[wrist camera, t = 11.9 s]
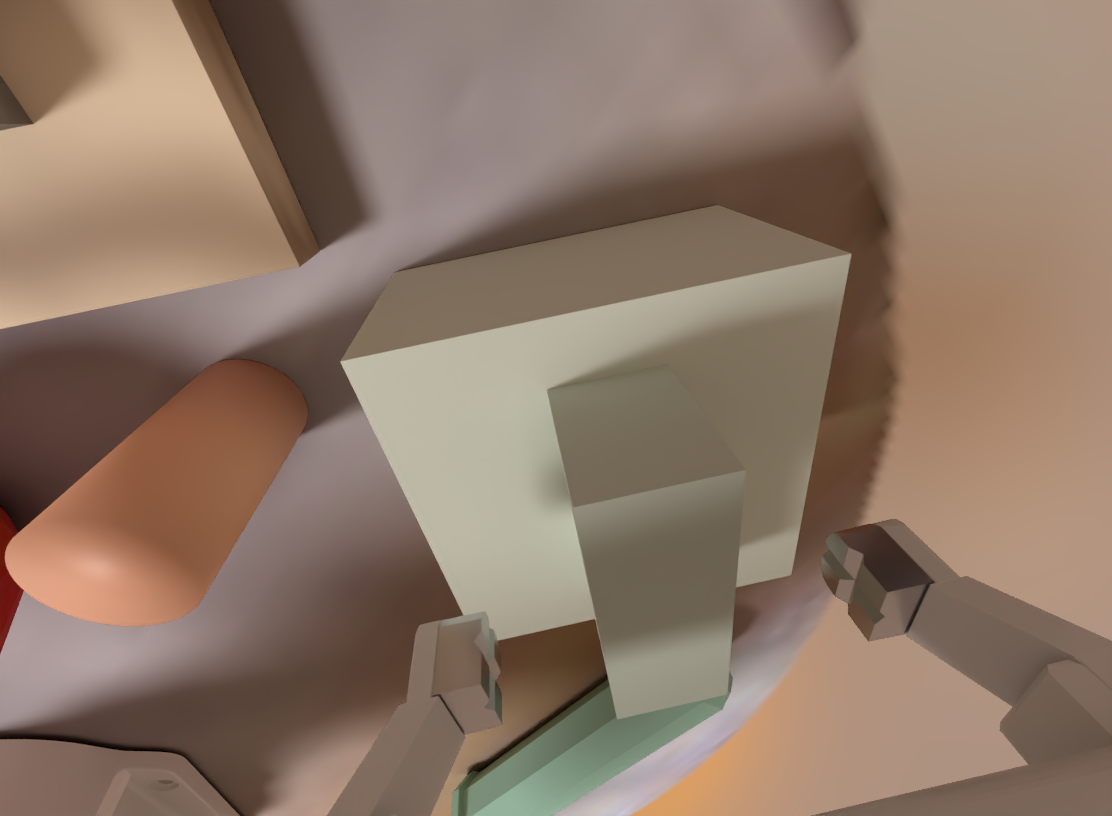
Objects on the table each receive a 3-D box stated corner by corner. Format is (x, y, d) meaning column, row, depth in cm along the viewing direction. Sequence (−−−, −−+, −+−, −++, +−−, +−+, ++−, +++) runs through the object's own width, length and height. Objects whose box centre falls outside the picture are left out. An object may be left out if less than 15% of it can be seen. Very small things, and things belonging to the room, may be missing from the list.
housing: (711, 455, 22) (869, 691, 13) (480, 506, 22) (476, 780, 13) (717, 204, 16) (1032, 319, 7) (394, 272, 16) (265, 484, 7)
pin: (325, 434, 19) (236, 607, 12) (230, 455, 19) (89, 639, 12) (277, 349, 17) (136, 501, 10) (169, 371, 17) (-44, 540, 10)
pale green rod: (729, 715, 25) (462, 880, 33) (763, 694, 29) (519, 845, 37) (668, 612, 28) (441, 783, 36) (706, 607, 33) (495, 761, 41)
